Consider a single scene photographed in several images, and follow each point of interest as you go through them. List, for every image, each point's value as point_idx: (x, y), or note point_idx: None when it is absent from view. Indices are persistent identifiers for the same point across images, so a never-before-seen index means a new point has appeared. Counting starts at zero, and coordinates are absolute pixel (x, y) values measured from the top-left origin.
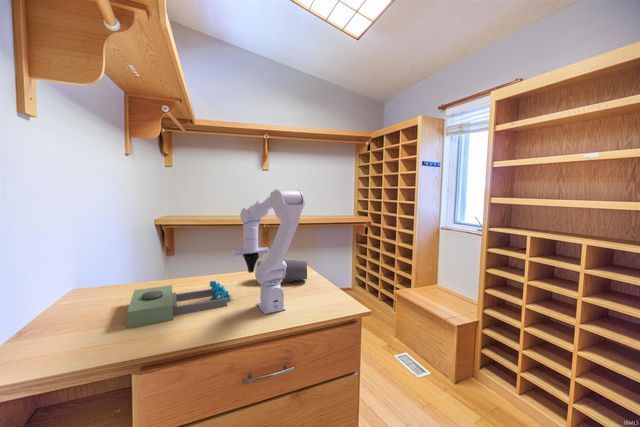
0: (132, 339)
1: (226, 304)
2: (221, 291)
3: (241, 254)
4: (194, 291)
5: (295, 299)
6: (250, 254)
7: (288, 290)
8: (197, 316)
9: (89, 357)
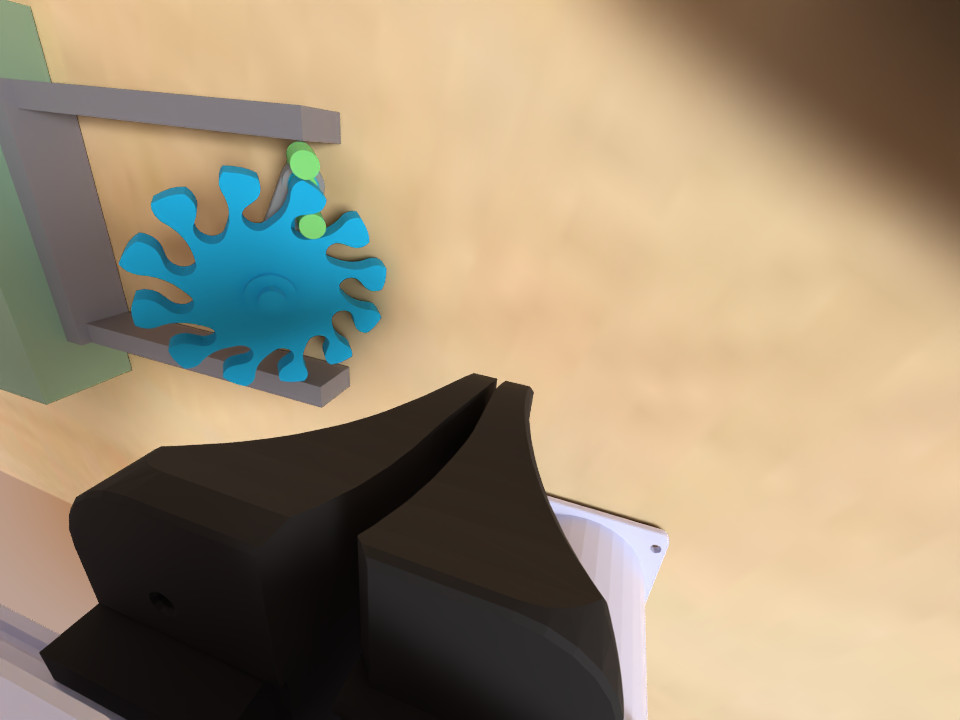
0: (63, 427)
1: (342, 390)
2: (277, 314)
3: (29, 667)
4: (111, 97)
5: (804, 605)
6: (361, 609)
7: (953, 441)
8: (217, 405)
9: (14, 448)
